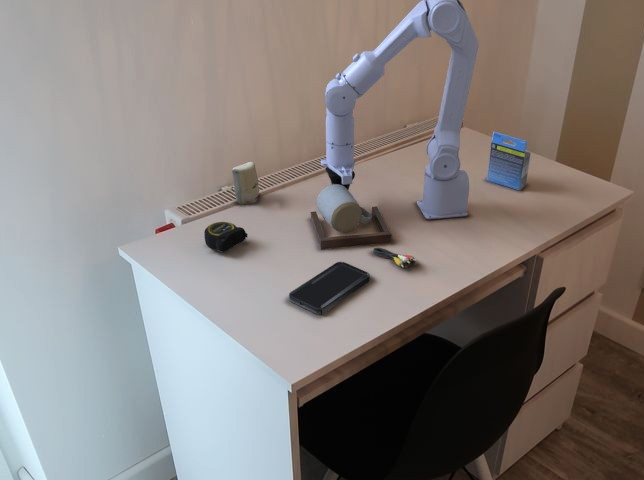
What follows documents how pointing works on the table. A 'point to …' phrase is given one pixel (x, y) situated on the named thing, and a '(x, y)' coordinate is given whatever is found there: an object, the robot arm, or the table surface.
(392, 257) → the composite cable
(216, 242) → the tape measure
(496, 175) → the label tape box
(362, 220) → the ceramic mug
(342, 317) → the table surface
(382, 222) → the frame
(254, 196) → the beige upright block
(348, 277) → the phone
